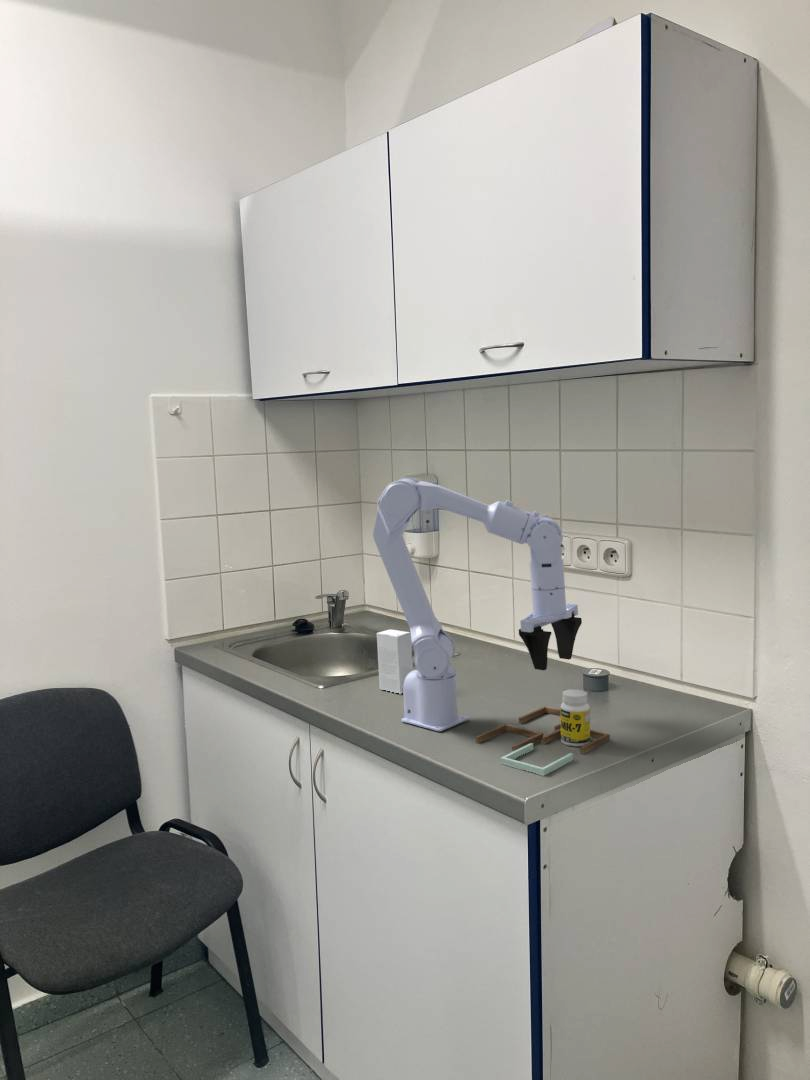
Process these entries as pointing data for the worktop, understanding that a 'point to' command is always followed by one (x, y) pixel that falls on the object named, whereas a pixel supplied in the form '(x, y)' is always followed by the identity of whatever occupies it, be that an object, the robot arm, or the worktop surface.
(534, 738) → the frame
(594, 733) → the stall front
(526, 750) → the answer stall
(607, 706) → the worktop surface
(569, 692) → the supplement bottle
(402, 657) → the skincare box
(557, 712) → the stall left
